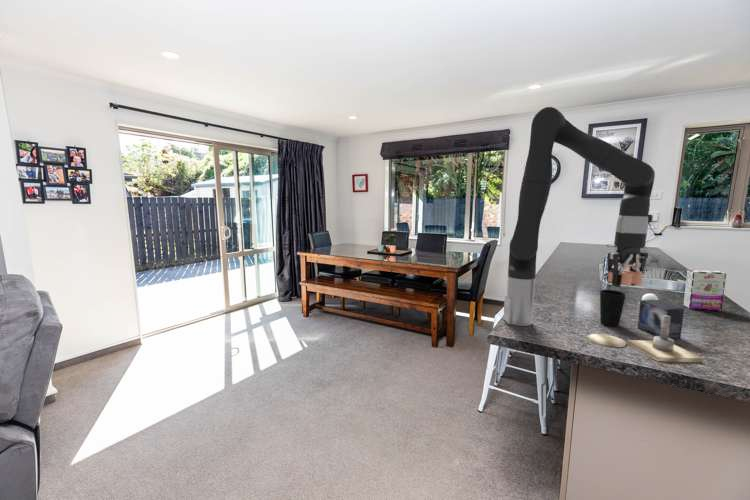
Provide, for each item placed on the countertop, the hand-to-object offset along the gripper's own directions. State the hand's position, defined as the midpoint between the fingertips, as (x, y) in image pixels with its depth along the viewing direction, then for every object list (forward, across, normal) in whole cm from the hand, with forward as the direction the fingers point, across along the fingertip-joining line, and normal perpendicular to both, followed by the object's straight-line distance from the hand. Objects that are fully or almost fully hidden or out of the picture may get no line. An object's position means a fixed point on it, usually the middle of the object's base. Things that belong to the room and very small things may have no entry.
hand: (623, 285), depth 103 cm
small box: (+19, -23, -2) cm, 30 cm away
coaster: (+19, +1, -2) cm, 19 cm away
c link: (-1, 0, 0) cm, 1 cm away
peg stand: (+19, -7, +9) cm, 22 cm away
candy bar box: (+18, -72, -16) cm, 76 cm away
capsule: (+19, -44, -19) cm, 51 cm away
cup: (+19, -15, -14) cm, 28 cm away
